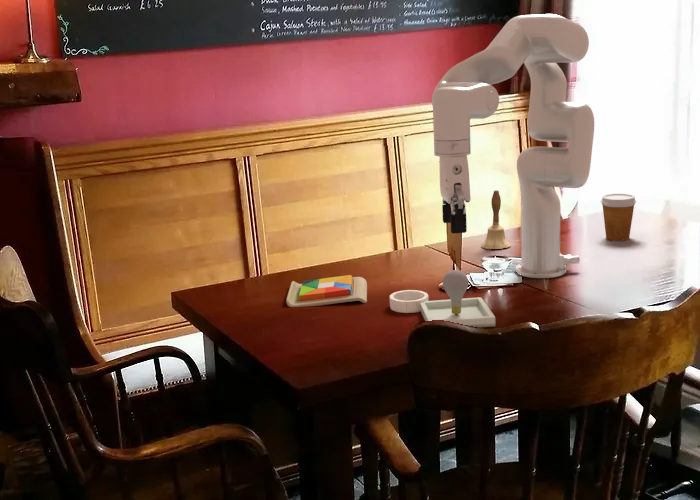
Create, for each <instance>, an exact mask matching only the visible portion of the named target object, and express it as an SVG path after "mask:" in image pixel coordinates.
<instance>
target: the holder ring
mask: <svg viewBox="0 0 700 500" xmlns="http://www.w3.org/2000/svg"><path fill="white" fill-rule="evenodd" d="M425 301H430V300H429V294H428V293H427V292H425V291H422V290H416V289H405V290H400V291H399V290H398V291H395V292H393V293H391V294H390V295H389V307H390V310H391V311H394V312H396V313H403V314H404V313H405V314H409V313H411V314H412V313H420V312H421V311H420V303H421V302H425Z"/></svg>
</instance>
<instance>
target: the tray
mask: <svg viewBox="0 0 700 500" xmlns="http://www.w3.org/2000/svg"><path fill="white" fill-rule="evenodd" d="M461 303H462V305H461V313H460V314H458V315H455V314H453V313H452V312H451V311H452V309H451V307H452V306H451V299H450V298H449V299H438V300H429V301H425V302H421V303H420V311H419V312H420V313H421V315H422V318H423V320H424V322H425V321H432V320H444V321H450V322H454V323H459V324H463V325H468V326H473V327H477V328H487V327H496V316H495V315H494V313H493V312H492V311H491V308H489V306H488V304H487V303H486V302H485V300H484V299H483V298H482V297H479V296H478V297H467V298H464V297H463V298H462V300H461Z"/></svg>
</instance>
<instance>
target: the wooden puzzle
mask: <svg viewBox="0 0 700 500" xmlns="http://www.w3.org/2000/svg"><path fill="white" fill-rule="evenodd" d="M367 298H368V283H367V280H366V279H365V278H364V277H362V276H352V274H348V275H340V276H333V277H325V278H324V277H323V278H316V279H315V278H314V279H307V280H303V281H302V283H298V282H296V281H294V280H292V281H291V283H290V286H289V289H288V292H287V296H286V305H287V306H288V307H290V308H299V307H301V308H302V307H317V306H325V305H326V306H327V305H332V304H333V305H335V304H341V303H349V302H361V303H363V304H366V303H367V302H368V299H367Z"/></svg>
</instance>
